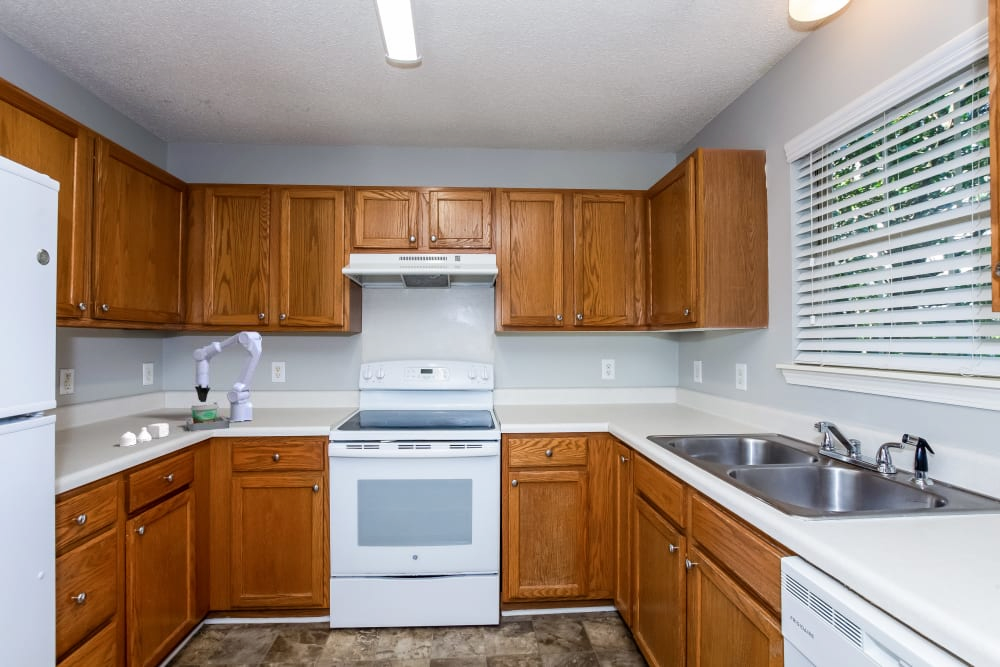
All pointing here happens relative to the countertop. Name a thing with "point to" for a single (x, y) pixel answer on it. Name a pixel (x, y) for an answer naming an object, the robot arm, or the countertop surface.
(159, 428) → the container set
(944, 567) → the countertop surface
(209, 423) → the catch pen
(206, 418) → the food container
